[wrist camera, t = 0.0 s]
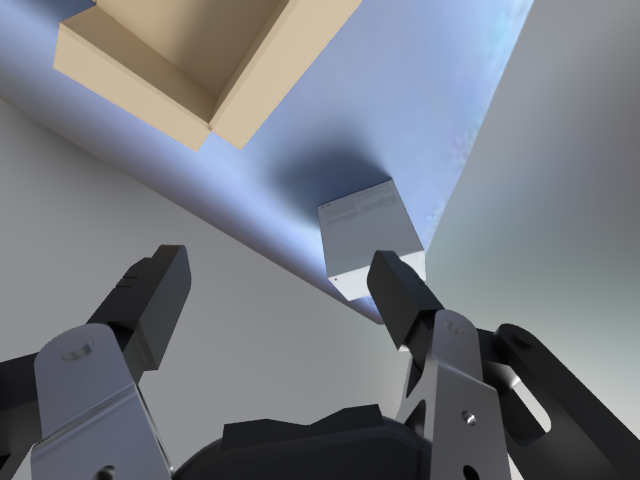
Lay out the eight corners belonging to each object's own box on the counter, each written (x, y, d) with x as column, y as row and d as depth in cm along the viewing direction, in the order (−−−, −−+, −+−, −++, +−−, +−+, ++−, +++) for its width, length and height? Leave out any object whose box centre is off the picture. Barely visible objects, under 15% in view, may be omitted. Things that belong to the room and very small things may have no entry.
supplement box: (335, 236, 62) (347, 302, 52) (315, 205, 52) (325, 278, 42) (400, 215, 58) (428, 281, 48) (393, 176, 48) (426, 249, 37)
